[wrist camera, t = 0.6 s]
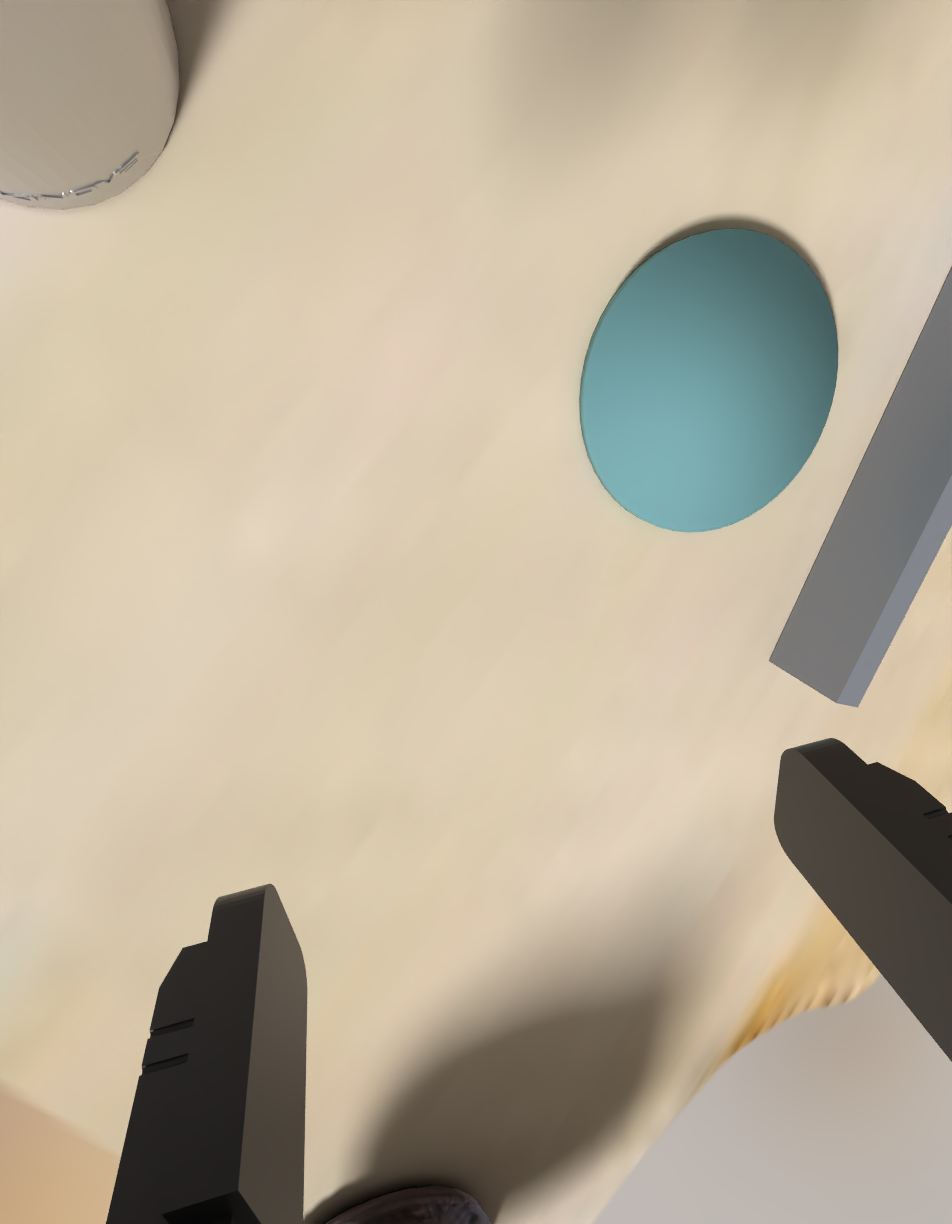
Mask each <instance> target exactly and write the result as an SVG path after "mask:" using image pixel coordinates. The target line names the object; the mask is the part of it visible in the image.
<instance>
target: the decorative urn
mask: <svg viewBox="0 0 952 1224" xmlns="http://www.w3.org/2000/svg"><path fill="white" fill-rule="evenodd" d="M326 1224H492V1223H491V1221H490V1219H489V1217H488V1216H487V1214H486V1213H485V1212H484V1210H483V1209H482V1208H481V1207H480V1205H479V1203H478V1202H477V1201H476V1200H475V1199H474V1198H473V1197H472V1196H471V1195H469V1194H467V1193H465V1192H463V1191H461V1190H458V1189H454V1188H449V1187H443V1186H426V1187H420V1188H411V1189H405V1190H401V1191H397V1192H393V1193H389V1194H386V1195H383V1196H380V1197H377V1198H374V1199H372V1200H369V1201H367V1202H365V1203H362V1204H360V1205H357V1206H355V1207H353V1208H351V1209H349V1210H347V1211H345V1212H344V1213H342V1214H340V1215H338V1216H336V1217H335V1218H333V1219H332V1220H330V1221H329V1222H328V1223H326Z"/></svg>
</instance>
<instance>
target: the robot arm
mask: <svg viewBox="0 0 952 1224" xmlns="http://www.w3.org/2000/svg"><path fill="white" fill-rule="evenodd" d="M179 89H180V88H179V60H178V49H177V44H176V40H175V35H174V31H173V26H172V21H171V17H170V13H169V9H168V6H167V3H166V0H0V199H2V200H5V201H9V202H12V203H16V204H20V205H23V206H27V207H34V208H48V209H63V210H64V209H70V208H76V207H83V206H89V205H95V204H97V203H99V202H102V201H104V200H106V199H109V198H111V197H113V196H116V195H118V194H120V193H122V192H123V191H125V190H126V189H127V188H129V187H130V186H131V185H132V184H134V183H135V182H136V181H137V180H139V179H140V178H141V177H142V176H144V175H145V174H146V172H147V171H148V169H149V168H150V167H151V165H152V164H153V163H154V161H155V160H156V159H157V157H158V156H159V155H160V153H161V152H162V150H163V148H164V145H165V143H166V140H167V138H168V136H169V133H170V131H171V128H172V126H173V123H174V119H175V113H176V107H177V101H178V95H179ZM774 825H775V830H776V833H777V836H778V839H779V842H780V844H781V846H782V848H783V850H784V851H785V853H786V855H787V856H788V858H789V859H790V860H791V861H792V863H793V864H794V865H795V866H796V868H797V869H798V870H799V871H800V873H801V874H802V875H803V876H804V878H805V879H806V880H807V881H808V883H809V884H810V885H811V886H812V888H813V889H814V890H815V891H816V893H817V894H818V895H819V896H820V898H821V899H822V900H823V901H824V903H825V904H826V905H827V906H828V908H829V909H830V910H831V911H832V913H833V914H834V915H835V916H836V918H837V919H838V920H839V921H840V923H841V924H842V925H843V926H844V928H845V929H846V930H847V931H848V933H849V934H850V935H851V936H852V938H853V939H854V940H855V941H856V943H857V944H858V945H859V946H860V948H861V949H862V950H863V951H864V953H865V954H866V955H867V956H868V958H869V959H870V960H871V961H872V963H873V964H874V965H875V966H876V968H877V969H878V970H879V971H880V973H881V974H882V975H883V976H884V978H885V979H886V980H887V981H888V983H889V984H890V985H891V986H892V987H893V989H894V990H895V991H896V993H897V994H898V995H899V996H900V998H901V999H902V1000H903V1001H904V1003H905V1004H906V1005H907V1006H908V1008H909V1009H910V1010H911V1011H912V1013H913V1014H914V1015H915V1016H916V1018H917V1019H918V1020H919V1021H920V1023H921V1024H922V1025H923V1026H924V1028H925V1029H926V1030H927V1031H928V1033H929V1034H930V1035H931V1036H932V1037H933V1039H934V1040H935V1041H936V1043H937V1044H938V1045H939V1046H940V1048H941V1049H942V1050H943V1051H944V1053H945V1054H946V1055H947V1056H948V1058H949V1059H950V1060H951V1061H952V813H948V812H947V810H946V807H945V806H944V805H943V804H941V803H940V802H939V801H938V800H937V799H936V798H934V797H933V796H932V795H931V794H930V793H929V792H927V791H926V790H925V789H924V788H923V787H922V786H920V785H919V784H918V783H917V782H916V781H914V780H912V779H910V778H908V777H906V776H904V775H902V774H900V773H898V772H896V771H894V770H892V769H890V768H888V767H886V766H884V765H882V764H880V763H878V762H876V763H872V764H868V765H867V764H866V763H865V762H864V761H863V760H862V759H861V758H860V757H858V756H857V755H856V754H855V753H854V752H853V751H852V750H851V749H850V748H848V747H847V746H846V745H845V744H844V743H842V742H841V741H839V740H837V739H834V738H829V739H825V740H821V741H817V742H813V743H809V744H806V745H802V746H798V747H794V748H790V749H787V750H785V751H784V752H783V754H782V756H781V760H780V769H779V778H778V786H777V795H776V804H775V813H774ZM150 1033H151V1036H150V1039H148V1040H147V1045H146V1049H145V1053H144V1058H143V1062H142V1075H141V1076H139V1080H138V1084H137V1089H136V1093H135V1098H134V1102H133V1107H132V1111H131V1116H130V1120H129V1124H128V1129H127V1133H126V1138H125V1142H124V1147H123V1151H122V1155H121V1160H120V1164H119V1169H118V1174H117V1178H116V1183H115V1187H114V1191H113V1195H112V1200H111V1204H110V1209H109V1213H108V1217H107V1221H106V1224H303V1197H304V1143H305V1089H306V1035H307V978H306V970H305V964H304V959H303V954H302V951H301V948H300V945H299V943H298V940H297V938H296V936H295V933H294V931H293V928H292V926H291V924H290V921H289V919H288V917H287V914H286V912H285V910H284V907H283V905H282V902H281V900H280V898H279V895H278V893H277V891H276V889H275V887H274V886H273V885H272V884H267V885H263V886H259V887H256V888H252V889H248V890H244V891H240V892H237V893H233V894H229V895H225V896H222V897H219V898H218V899H217V900H216V902H215V904H214V907H213V911H212V917H211V923H210V929H209V935H208V941H207V942H203V943H199V944H196V945H192V946H188V947H185V948H183V949H182V950H181V952H180V954H179V955H178V957H177V959H176V960H175V962H174V964H173V966H172V967H171V969H170V971H169V972H168V974H167V976H166V977H165V979H164V981H163V983H162V984H161V986H160V988H159V991H158V996H157V1000H156V1005H155V1009H154V1014H153V1018H152V1022H151V1027H150Z"/></svg>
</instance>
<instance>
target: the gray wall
mask: <svg viewBox="0 0 952 1224" xmlns="http://www.w3.org/2000/svg"><path fill="white" fill-rule="evenodd" d="M951 526H952V268H951V270H950V272H949V275H948V277H947V279H946V281H945V283H944V285H943V288H942V290H941V292H940V294H939V296H938V298H937V300H936V303H935V305H934V307H933V309H932V311H931V313H930V316H929V318H928V320H927V322H926V324H925V326H924V328H923V331H922V333H921V335H920V337H919V339H918V341H917V344H916V346H915V348H914V350H913V352H912V354H911V356H910V359H909V361H908V363H907V365H906V367H905V369H904V372H903V374H902V376H901V378H900V380H899V382H898V384H897V387H896V389H895V391H894V393H893V395H892V397H891V400H890V402H889V404H888V406H887V408H886V410H885V412H884V415H883V417H882V419H881V421H880V423H879V425H878V428H877V430H876V432H875V434H874V436H873V438H872V440H871V443H870V445H869V447H868V449H867V451H866V453H865V456H864V458H863V460H862V462H861V464H860V466H859V468H858V471H857V473H856V475H855V477H854V479H853V481H852V483H851V486H850V488H849V490H848V492H847V494H846V496H845V499H844V501H843V503H842V505H841V507H840V509H839V511H838V514H837V516H836V518H835V520H834V522H833V524H832V527H831V529H830V531H829V533H828V535H827V537H826V539H825V542H824V544H823V546H822V548H821V550H820V552H819V555H818V557H817V559H816V561H815V563H814V565H813V567H812V570H811V572H810V574H809V576H808V578H807V580H806V583H805V585H804V587H803V589H802V591H801V593H800V595H799V598H798V600H797V602H796V604H795V606H794V608H793V611H792V613H791V615H790V617H789V619H788V621H787V623H786V626H785V628H784V630H783V632H782V634H781V636H780V639H779V641H778V643H777V645H776V647H775V649H774V651H773V654H772V656H771V658H770V660H769V661H770V662H771V663H773V664H774V665H776V666H778V667H779V668H781V669H782V670H784V671H786V672H787V673H789V674H791V675H792V676H794V677H795V678H797V679H799V680H800V681H802V682H803V683H805V684H807V685H808V686H810V687H811V688H813V689H815V690H816V691H818V692H819V693H821V694H823V695H824V696H826V697H827V698H829V699H831V700H832V701H834V702H836V703H839V704H844V705H849V706H854V707H858V706H859V704H860V702H861V700H862V698H863V696H864V694H865V692H866V690H867V688H868V686H869V685H870V683H871V681H872V679H873V677H874V675H875V673H876V671H877V669H878V667H879V665H880V663H881V661H882V659H883V657H884V655H885V654H886V652H887V650H888V648H889V646H890V644H891V642H892V640H893V638H894V636H895V634H896V632H897V630H898V628H899V626H900V624H901V623H902V621H903V619H904V617H905V615H906V613H907V611H908V609H909V607H910V605H911V603H912V601H913V599H914V597H915V595H916V593H917V591H918V590H919V588H920V586H921V584H922V582H923V580H924V578H925V576H926V574H927V572H928V570H929V568H930V566H931V564H932V562H933V560H934V559H935V557H936V555H937V553H938V551H939V549H940V547H941V545H942V543H943V541H944V539H945V537H946V535H947V533H948V531H949V529H950V528H951Z"/></svg>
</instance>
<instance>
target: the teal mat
mask: <svg viewBox="0 0 952 1224" xmlns="http://www.w3.org/2000/svg"><path fill="white" fill-rule="evenodd" d="M837 370H838V342H837V333H836V326H835V322H834V317H833V313H832V309H831V306H830V304H829V301H828V298H827V295H826V293H825V291H824V289H823V287H822V285H821V283H820V281H819V279H818V278H817V276H816V275H815V274H814V272H813V271H812V269H811V268H810V267H809V265H808V264H807V263H806V262H805V261H804V260H803V259H802V258H801V257H800V256H799V255H798V254H797V253H796V252H795V251H794V250H792V249H791V248H789V247H788V246H787V245H785V244H784V243H783V242H781V241H779V240H777V239H774V238H772V237H770V236H768V235H766V234H762V233H759V232H755V231H752V230H743V229H720V230H713V231H709V232H705V233H701V234H697V235H693V236H690V237H687V238H685V239H682V240H680V241H677V242H675V243H673V244H671V245H669V246H667V247H666V248H664V249H662V250H661V251H659V252H657V253H656V254H654V255H653V256H652V257H650V258H649V259H648V260H647V261H645V262H644V263H643V264H642V265H640V266H639V267H638V268H637V269H636V270H635V271H634V272H633V273H632V274H631V275H630V276H629V277H628V278H627V279H626V281H625V282H624V283H623V284H622V285H621V287H620V288H619V289H618V291H617V292H616V293H615V295H614V296H613V297H612V299H611V300H610V302H609V304H608V305H607V307H606V309H605V311H604V312H603V314H602V316H601V317H600V320H599V322H598V324H597V326H596V329H595V331H594V333H593V335H592V338H591V341H590V344H589V347H588V350H587V354H586V357H585V361H584V366H583V371H582V376H581V385H580V398H579V403H580V422H581V429H582V435H583V440H584V444H585V447H586V451H587V454H588V457H589V459H590V462H591V464H592V466H593V469H594V471H595V473H596V475H597V476H598V478H599V480H600V481H601V483H602V484H603V486H604V488H605V489H606V490H607V491H608V492H609V494H610V495H611V496H612V497H613V498H614V500H616V501H617V502H618V503H619V504H620V505H621V506H622V507H623V508H625V509H626V510H627V511H629V512H630V513H632V514H633V515H635V516H636V517H638V518H640V519H642V520H644V521H647V522H649V523H651V524H653V525H656V526H658V527H661V528H665V529H669V530H672V531H681V532H704V531H709V530H715V529H719V528H722V527H725V526H728V525H731V524H734V523H736V522H738V521H741V520H743V519H745V518H747V517H749V516H750V515H752V514H754V513H755V512H757V511H758V510H760V509H761V508H763V507H764V506H765V505H767V504H768V503H769V502H770V501H772V500H773V499H774V498H775V497H777V496H778V495H779V494H780V493H781V492H782V491H783V490H784V489H785V488H786V487H787V486H788V485H789V483H790V482H791V481H792V480H793V479H794V477H795V476H796V475H797V474H798V472H799V471H800V470H801V468H802V467H803V465H804V464H805V462H806V461H807V459H808V458H809V456H810V455H811V453H812V451H813V449H814V447H815V446H816V444H817V442H818V440H819V438H820V435H821V433H822V431H823V428H824V426H825V424H826V421H827V418H828V415H829V412H830V408H831V405H832V401H833V396H834V392H835V387H836V380H837Z"/></svg>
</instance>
